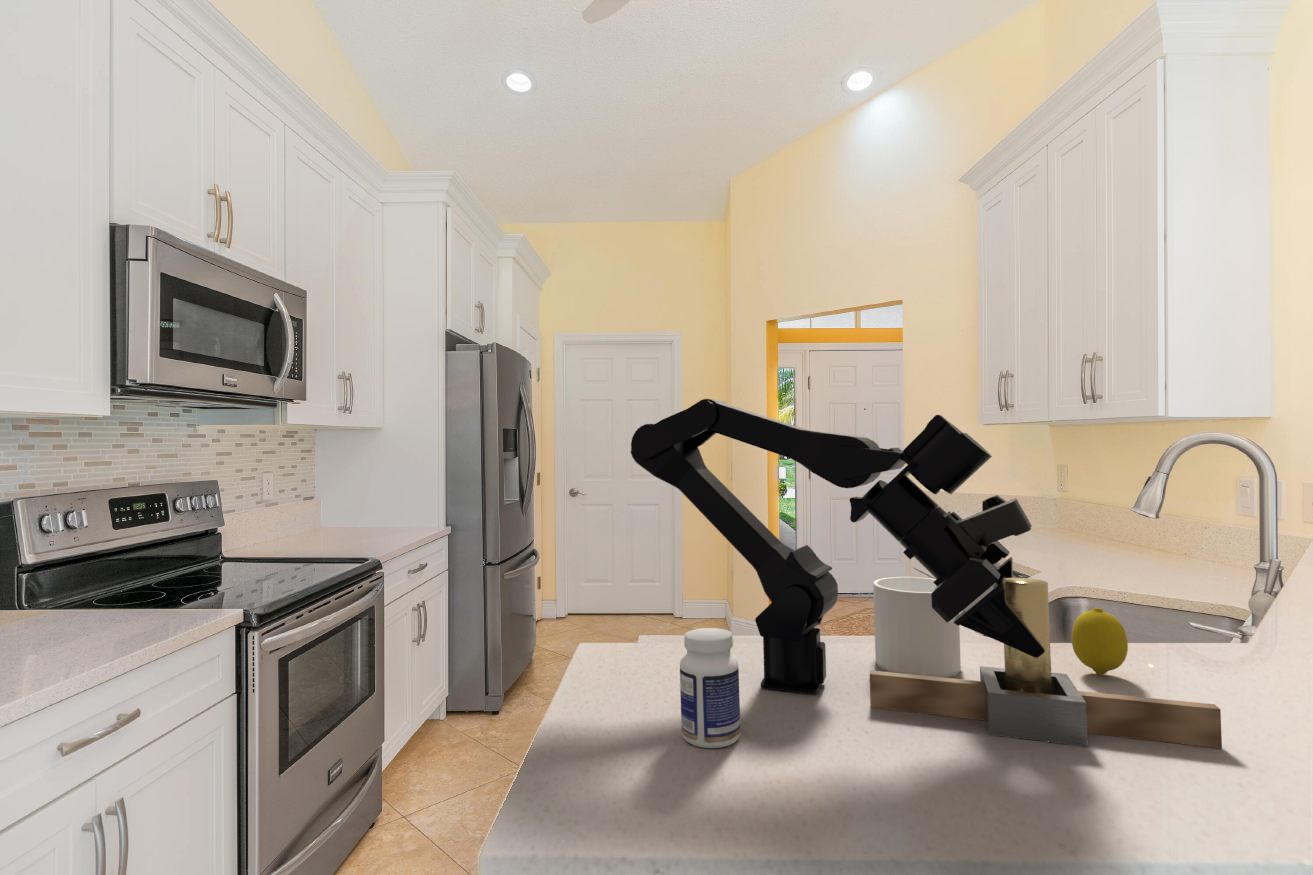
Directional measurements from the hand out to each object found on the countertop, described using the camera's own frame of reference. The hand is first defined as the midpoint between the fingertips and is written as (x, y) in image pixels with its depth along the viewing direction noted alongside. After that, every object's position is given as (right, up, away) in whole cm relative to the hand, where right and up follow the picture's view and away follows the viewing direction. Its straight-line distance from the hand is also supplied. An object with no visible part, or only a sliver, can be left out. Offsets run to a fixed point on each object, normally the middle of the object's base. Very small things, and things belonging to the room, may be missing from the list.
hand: (1041, 641), depth 64 cm
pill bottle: (-33, -9, -1) cm, 34 cm away
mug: (-5, -9, +19) cm, 22 cm away
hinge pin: (-1, -8, 0) cm, 8 cm away
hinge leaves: (-1, -8, 0) cm, 8 cm away
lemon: (+15, -8, +14) cm, 22 cm away
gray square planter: (-1, -8, 0) cm, 8 cm away
